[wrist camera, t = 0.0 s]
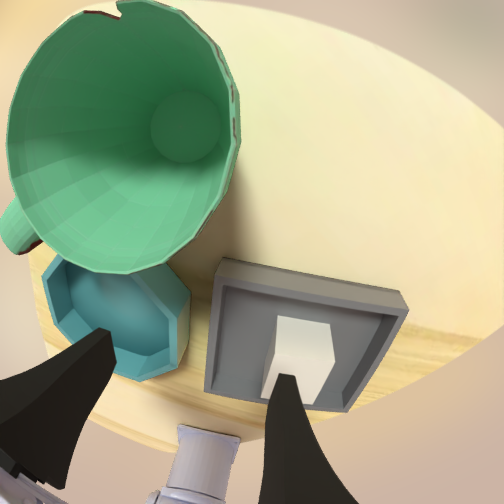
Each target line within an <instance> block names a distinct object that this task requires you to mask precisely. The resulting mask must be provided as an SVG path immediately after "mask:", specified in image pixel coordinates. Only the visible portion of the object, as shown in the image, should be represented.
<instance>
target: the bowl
mask: <svg viewBox="0 0 504 504" xmlns="http://www.w3.org/2000/svg"><path fill="white" fill-rule="evenodd" d="M41 277H42V281H43V285H44V290H45V294H46V298H47V301H48V305H49V309H50V312H51V316H52V319H53V322H54V325H55V326H56V327H57V328H58V329H59V330H60V332H61V333H62V334H63V335H64V336H65V337H66V338H67V339H68V340H69V341H70V342H71V344H72V345H73V344H74V343H76V342H77V341H79V340H80V339H82V338H83V337H85V336H86V335H88V334H89V333H91V332H92V331H94V330H95V329H97V328H98V327H100V328H103V329H106V330H109V331H111V336H112V341H113V346H114V351H115V355H116V360H117V364H116V366H115V369H114V371H113V373H115V374H118V375H121V376H124V377H126V378H129V379H132V380H135V381H138V382H142V381H144V380H147V379H150V378H153V377H155V376H158V375H161V374H163V373H166V372H168V371H171V370H174V369H176V368H178V365H179V363H180V361H181V358H182V356H183V354H184V351H185V349H186V347H187V344H188V342H189V323H190V301H191V292H190V290H189V289H188V288H187V287H186V286H185V285H184V284H183V282H182V281H181V280H180V279H179V278H178V277H177V275H176V274H175V273H174V272H173V271H172V269H171V268H170V267H169V266H168V265H167V264H166V262H165V263H164V264H162V265H159V266H156V267H153V268H150V269H146V270H143V271H140V272H137V273H133V274H130V275H120V274H105V273H95V272H92V271H90V270H87V269H85V268H83V267H80V266H78V265H76V264H73V263H71V262H69V261H67V260H65V259H64V258H63V257H61V256H60V255H59V254H57V256H56V257H55V258H54V260H53V261H52V262H51V264H50V265H49V266H48V268H47V269H46V271H45V272H44V273H43V275H42V276H41Z"/></svg>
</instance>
